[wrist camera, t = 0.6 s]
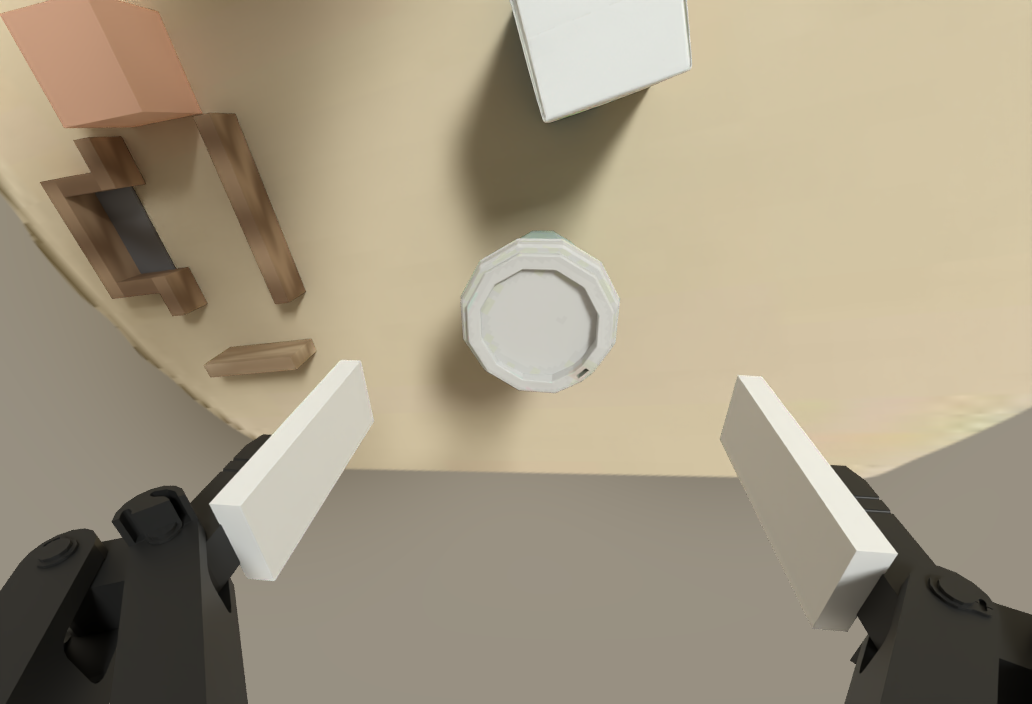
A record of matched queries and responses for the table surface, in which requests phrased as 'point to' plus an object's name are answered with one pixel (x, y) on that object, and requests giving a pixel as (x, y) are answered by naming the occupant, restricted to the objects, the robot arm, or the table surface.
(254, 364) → the open wooden frame
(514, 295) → the disposable coffee cup
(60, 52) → the block
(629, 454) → the table surface
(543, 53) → the ink box
